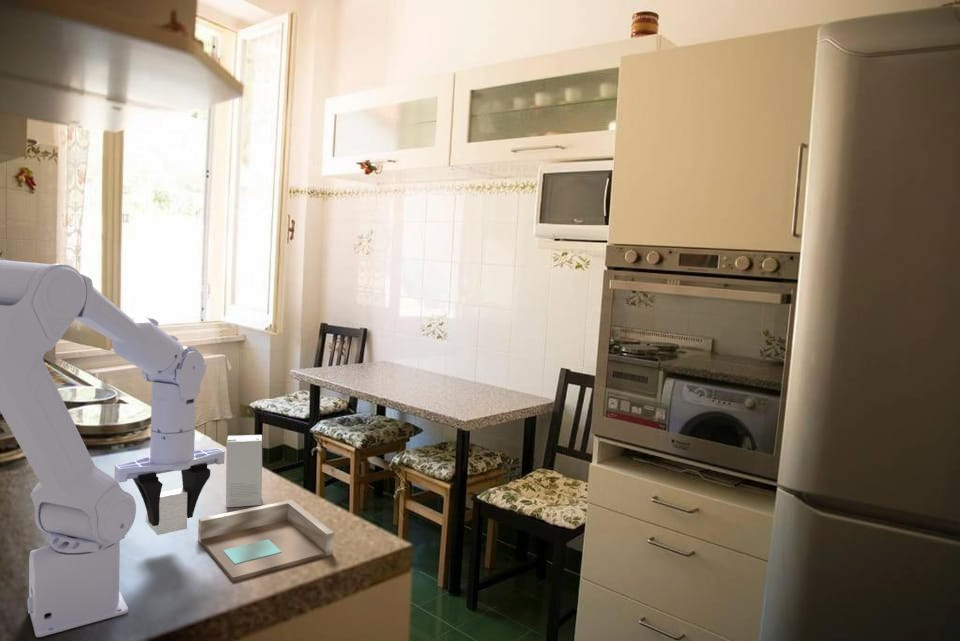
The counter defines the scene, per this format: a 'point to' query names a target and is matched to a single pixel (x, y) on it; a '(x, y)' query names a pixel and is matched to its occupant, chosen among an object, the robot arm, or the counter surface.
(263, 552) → the corner arena
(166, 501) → the aluminium bracket
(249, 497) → the skincare box
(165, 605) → the counter surface
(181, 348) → the robot arm
